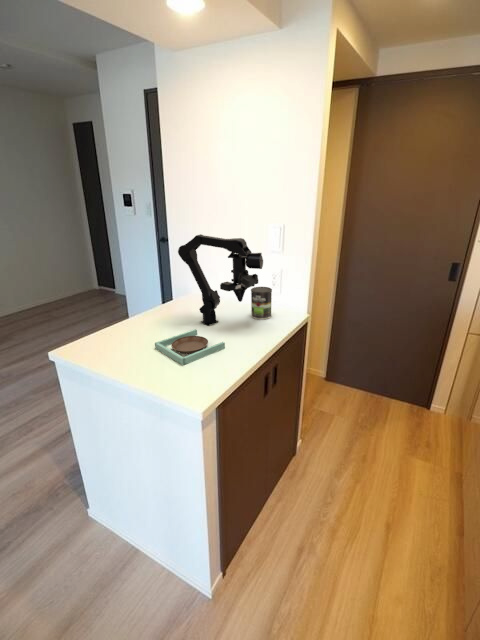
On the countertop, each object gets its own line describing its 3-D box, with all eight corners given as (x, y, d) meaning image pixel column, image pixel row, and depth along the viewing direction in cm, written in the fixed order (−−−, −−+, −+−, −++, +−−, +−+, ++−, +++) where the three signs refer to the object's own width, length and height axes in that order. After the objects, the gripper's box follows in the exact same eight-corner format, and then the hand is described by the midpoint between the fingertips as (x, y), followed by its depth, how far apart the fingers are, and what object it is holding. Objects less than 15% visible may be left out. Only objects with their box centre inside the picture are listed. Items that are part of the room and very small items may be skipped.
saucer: (165, 354, 130) (164, 348, 129) (182, 339, 143) (182, 333, 142) (199, 359, 126) (198, 352, 125) (214, 343, 139) (213, 337, 138)
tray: (155, 348, 135) (154, 342, 134) (195, 334, 148) (195, 329, 147) (182, 365, 121) (182, 359, 120) (225, 348, 134) (224, 342, 133)
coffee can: (268, 320, 161) (268, 292, 156) (248, 318, 165) (247, 291, 160) (274, 313, 170) (274, 287, 165) (255, 311, 173) (255, 285, 168)
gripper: (235, 274, 134) (236, 310, 140) (267, 267, 146) (267, 300, 152) (218, 270, 142) (220, 304, 148) (249, 263, 154) (250, 295, 159)
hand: (240, 301), depth 151 cm, fingers closed
